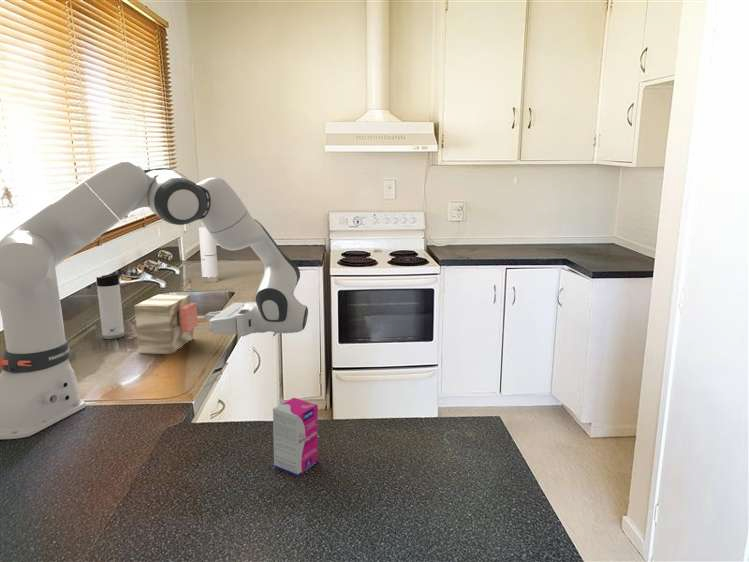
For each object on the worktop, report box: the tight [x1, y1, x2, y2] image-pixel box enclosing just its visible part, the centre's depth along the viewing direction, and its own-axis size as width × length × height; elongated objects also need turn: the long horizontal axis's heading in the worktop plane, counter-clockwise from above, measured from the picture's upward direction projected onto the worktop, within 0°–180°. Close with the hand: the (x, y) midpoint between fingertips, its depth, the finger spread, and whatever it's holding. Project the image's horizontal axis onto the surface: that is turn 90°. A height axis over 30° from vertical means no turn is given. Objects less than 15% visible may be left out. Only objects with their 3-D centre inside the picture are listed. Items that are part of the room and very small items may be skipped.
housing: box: [133, 293, 194, 355], centre depth 162 cm, size 14×10×14 cm
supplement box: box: [272, 397, 319, 477], centre depth 97 cm, size 6×6×12 cm
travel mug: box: [96, 273, 125, 340], centre depth 171 cm, size 6×7×20 cm
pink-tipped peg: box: [177, 302, 199, 332], centre depth 162 cm, size 7×14×7 cm, turn 84°
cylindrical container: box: [198, 226, 219, 278], centre depth 251 cm, size 7×7×25 cm
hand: (206, 316), depth 161 cm, fingers closed
